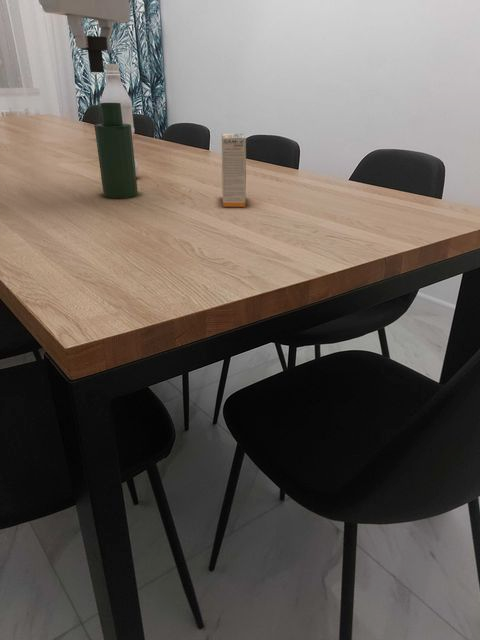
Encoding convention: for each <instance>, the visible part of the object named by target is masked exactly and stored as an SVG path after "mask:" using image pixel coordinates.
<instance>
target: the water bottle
mask: <svg viewBox="0 0 480 640" xmlns="http://www.w3.org/2000/svg"><path fill="white" fill-rule="evenodd" d="M104 65H105V66H104V68H105V70H104V73H105V74H104V76H105V79H106V80H105V85H104V89H103V91H102V94H101V98H100V103H121V111H122V121H123V124H130V125H131V131H132V141H134V135H135V125H134V115H133V104H132V100H131V97H130V95H129V94H128V91H127V90H126V88H125V86H124V85H123V82H122V79H121V77H122V74H121V72H120V65H119V63H104ZM134 160H135V170H136V178H137V176H138V174H139V164H138V162H137V160H136V157H135V156H134Z"/></svg>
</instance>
